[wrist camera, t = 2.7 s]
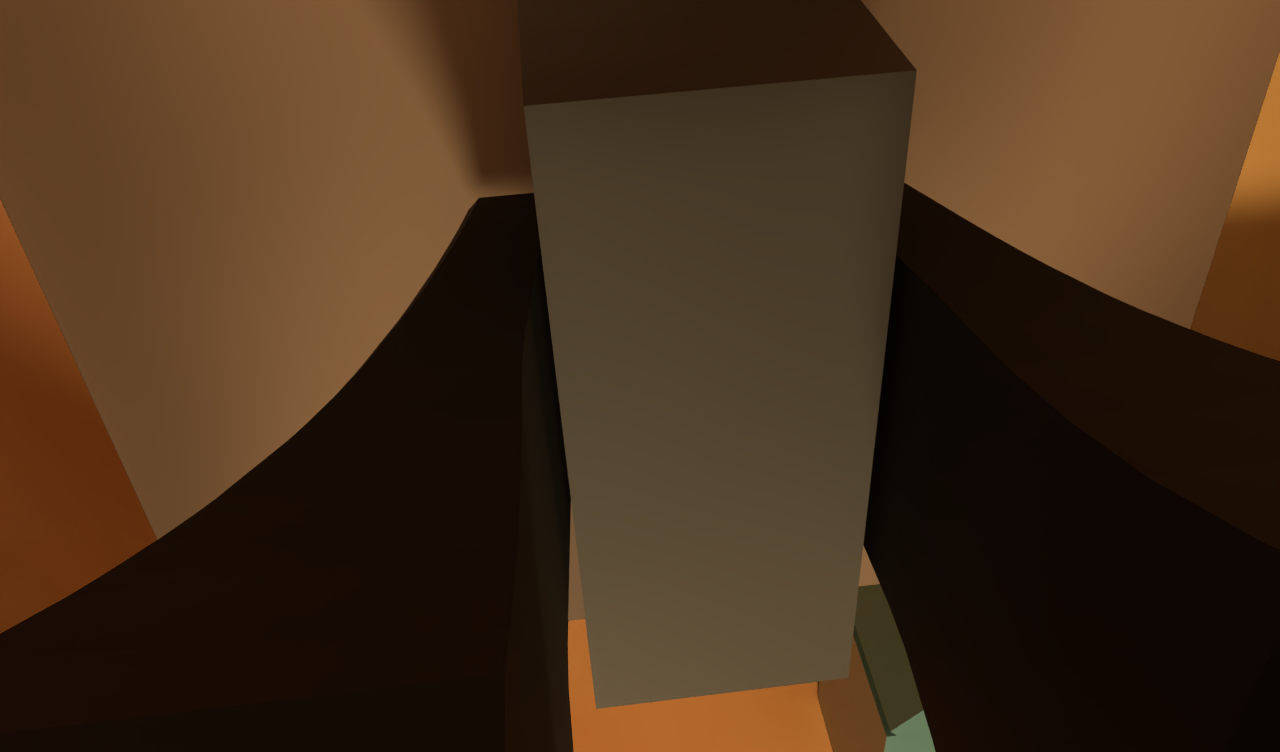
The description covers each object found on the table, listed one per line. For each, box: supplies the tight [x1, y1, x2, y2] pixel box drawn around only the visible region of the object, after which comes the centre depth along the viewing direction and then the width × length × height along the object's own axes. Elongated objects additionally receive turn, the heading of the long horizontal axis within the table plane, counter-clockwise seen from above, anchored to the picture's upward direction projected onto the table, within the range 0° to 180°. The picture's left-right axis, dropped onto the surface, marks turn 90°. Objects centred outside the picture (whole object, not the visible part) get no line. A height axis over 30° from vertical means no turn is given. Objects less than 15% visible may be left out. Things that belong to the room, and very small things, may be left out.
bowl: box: [818, 584, 936, 752], centre depth 22 cm, size 11×11×4 cm
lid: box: [0, 0, 1280, 709], centre depth 10 cm, size 13×13×5 cm
